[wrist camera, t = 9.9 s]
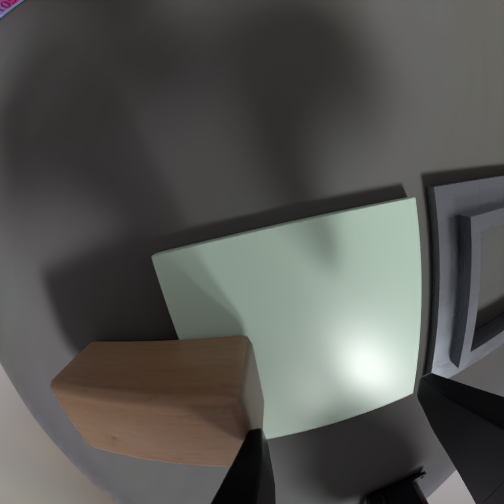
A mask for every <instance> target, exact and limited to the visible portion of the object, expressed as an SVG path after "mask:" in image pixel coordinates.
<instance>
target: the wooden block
mask: <svg viewBox="0 0 504 504" xmlns="http://www.w3.org/2000/svg"><path fill="white" fill-rule="evenodd" d="M50 386H51V390H52V392H53V393H54V395H55V397H56V398H57V400H58V402H59V403H60V405H61V407H62V408H63V410H64V411H65V413H66V414H67V416H68V417H69V419H70V420H71V422H72V423H73V425H74V426H75V427H76V429H77V430H78V432H79V433H80V434H81V436H82V437H83V438H84V440H85V441H86V442H87V443H88V444H89V445H90V446H92V447H95V448H98V449H102V450H106V451H110V452H114V453H118V454H122V455H127V456H132V457H137V458H142V459H148V460H154V461H160V462H168V463H176V464H185V465H196V466H212V467H231V465H232V463H233V461H234V459H235V457H236V455H237V453H238V451H239V449H240V447H241V445H242V443H243V441H244V439H245V437H246V435H247V433H248V431H249V430H250V429H256V428H262V429H263V417H264V397H263V393H262V388H261V383H260V378H259V373H258V369H257V364H256V359H255V354H254V349H253V344H252V343H251V341H250V340H249V338H248V336H244V335H237V336H226V337H214V338H200V339H184V340H163V341H94V342H91V343H89V344H88V345H87V346H86V347H85V348H84V349H83V350H82V351H81V352H80V353H79V354H78V355H77V356H76V357H75V358H74V359H73V360H72V361H71V362H70V363H69V364H68V365H67V366H66V367H65V368H64V369H63V370H62V371H61V372H60V373H59V374H58V375H57V376H56V377H55V378H54V379H53V380H52V381H51V384H50Z"/></svg>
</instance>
